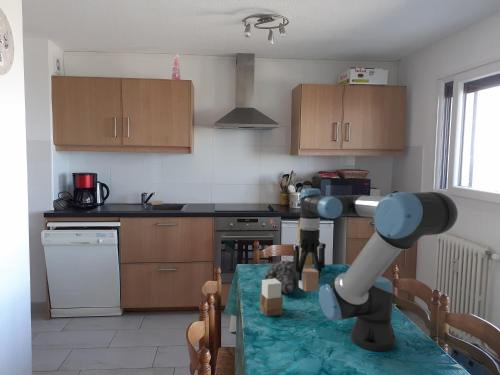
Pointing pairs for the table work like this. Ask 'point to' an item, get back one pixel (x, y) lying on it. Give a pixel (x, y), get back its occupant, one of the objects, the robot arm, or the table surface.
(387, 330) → the robot arm
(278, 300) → the walnut base cube
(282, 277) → the rock
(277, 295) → the cream top cube
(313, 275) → the terracotta block
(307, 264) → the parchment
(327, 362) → the table surface
